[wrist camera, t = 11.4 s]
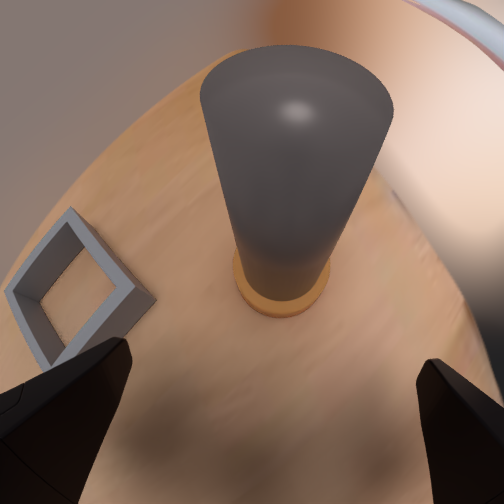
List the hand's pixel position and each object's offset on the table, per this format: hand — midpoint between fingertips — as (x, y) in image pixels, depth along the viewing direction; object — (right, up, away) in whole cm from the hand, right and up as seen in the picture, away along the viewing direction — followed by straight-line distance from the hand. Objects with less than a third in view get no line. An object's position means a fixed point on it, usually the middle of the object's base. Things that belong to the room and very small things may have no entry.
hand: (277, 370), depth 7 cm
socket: (-12, 0, +9) cm, 15 cm away
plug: (+1, +2, +9) cm, 9 cm away
